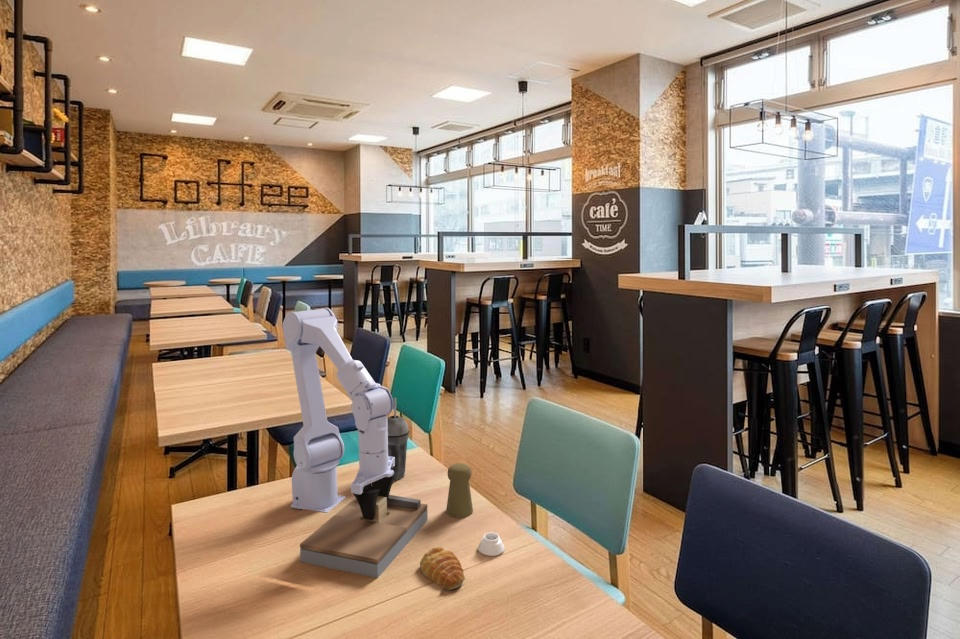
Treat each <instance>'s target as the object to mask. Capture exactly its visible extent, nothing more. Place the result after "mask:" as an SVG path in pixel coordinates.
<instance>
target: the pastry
mask: <svg viewBox="0 0 960 639" xmlns="http://www.w3.org/2000/svg"><path fill="white" fill-rule="evenodd" d="M419 566H420V570H421V573H422V575H423V576H424V577H426V578H427V579H428V580H430V581H431V582H433V583H434V584H437V585H438V586H440V587H442V589H444V590H447V591H451V590H453V589H456V588H459V587H461V586H462V585H463V583H464V581H465V578H466V577H465V575H464V574H465V573H464V569H463V566H462V563H461V562H460V560H459V559H458V557H457V555H455V553H454V552H452V551H451V550H446V549H445V548H444V547H442V546H441V547H440V546H437V547H433V548H431V549H429V551H427V552H425V553H424V555H423V556H422V558H421V560H420V562H419Z"/></svg>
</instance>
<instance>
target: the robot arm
mask: <svg viewBox="0 0 960 639" xmlns="http://www.w3.org/2000/svg"><path fill="white" fill-rule="evenodd" d="M281 327H282V332H283V338H284V343H285V348H286V350H287V351H289V352H290V354H291V360H292V367H293V372H294V377H295V383H296V389H297V395H298V402H299V406H300V412H301V413H300V414H301V418H302V424H303V426H302V427H301V428H300V429H299V430H298V432H297V433H296V434H295V435H294V436H293V459H294V462H295V465H296V467H295V468H294V470H293V472H292V475H291V491H292V492H291V494H292V498H291V499H292V504H290V508H292V509H297V510H298V509H299V510H308V511H313V512H320V513H324V514H325V513H328V512H330V511H331V510H332V509H334V508H335V507H336V506H337V505H339V504H340V503H341V502H342V501H343V500H344V499H345V500H346V496H345V495H340V494H339V495H338V474H337V473H338V472H337V468H338V465H340V460H341V459H342V458H343V457H344V453H345V444H344V441H343V439H342V437H341V434H340V430H339V427H338V426H337V425H334V424H332V423H330V421H328V417H327V412H326V405H325V400H324V394H323V387H322V383H321V376H320V370H319V365H318V358H317V351H318V349H319V348H321V350H322V351H323V352H324V353H325V354H326V356H327V357H328V358H329V359H330V361H331V362H332V363H333V365H334V366H335V367H336V368H337V372H336V378H337V380H338V381H339V383H340V385H341V386H342V387H343V389H344V391H345V393H346V394H347V395H348V397H349V399H350V400H351V401H352V402H351V404H350V409H351V412H352V415H353V417H354V422H355V427H356V429H357V430H358V435H357V436H358V460H359V461H358V463H359V466H358V467H359V469H358V471H357V473H356V476H355V478H354V480H353V481H352V482H351V484H350V493H351V494H352V495H353V496H354V498H356V499H357V501H358V503H359V506H360V509H361V512H362V515H363V518H364V519H367V520H373V519H374V517H375V510H376V501H377V497H378V496H381V497H387V503H388V498H389V495H390V493H391V489H392V486H393V484H394V481H395V480H394V479H395V478H396V472H395V471H393V470H390V469H391V467H394V466H395V457H390V456H388V423H387V418H388V415H389V416H390V415H391V413H392V411H394V398H393V395H392V393H391V392H390V390H389V388H387V387H386V386H383V385H381V384H380V383H378V382H375V380H374V379H373V377H372V376H371V374H370V373H369V372H368V370H367V368H366V367H365V366H364V364H363V363H362V361H360V360H356V359H353V358H352V356H351V354H350V352H349V350H348V349H347V346H346V344H345V343H344V341H343V340H342V338H341V336H340V334H339V332H338V319H337V318H336V315H335V313H334V312H333V311H332V309H330V307H322V308H319V309H318V308H317V309H309V310H300V311H288V312H287V314H285V317H284V319H283V322H282V326H281Z"/></svg>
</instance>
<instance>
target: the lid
mask: <svg viewBox="0 0 960 639" xmlns="http://www.w3.org/2000/svg"><path fill="white" fill-rule="evenodd" d="M421 501H422V500H421V499H419V498H418V499H417V498H412V497H405V496H400V495H393V494H389V498H388V503H387V517H386V518H385V519H384V520H382V521H381V522H380V523H377V522H371V521H366V520H363V515H362V512H361V509H360V506H359V503H358V501H357V499H356V497H354V498H353V499H352V500H351V501H350V502H348V503H347V504H346V505H345V506H344V507H342V508H341V509H340V510H339V511H338V512H336V513H335V514H334V515H332V517H331V518H329V519H328V520H327V521H326V522H325V523H323V524H322V525H321V526H320V527H319V528H317V529H316V530H315V531H314V532H312V533H311V534H310V535H309V536H307V538H305V539H304V540H303V541H302V542H300V543H299V549H301V548H302V549H307V550H312V551H317V552H322V553H327V554H332V555H337V556H342V557H347V558H352V559H357V560H362V561H367V562H372V563H376V564H378V563H379V562H380V560H381V559H382V558H383V557H384V556H385V555H386V554H387V553H388V552H389V550H390V549H391V548H392V547H393V546H394V545H395V544H396V543H397V542H398V540H399V539H400V538H401V537H402V536H403V535H404V534H405V533H406V532H407V530H408V529H409V528H410V527H411V526H412V525H413V524H414V523H415V522H416V520H417V519H418V518H419V517H420V516H421V515H422V514H423V513H424V511H425V510H426V509H427V510H428V504H427V503H426V504H425V503H422V502H421Z"/></svg>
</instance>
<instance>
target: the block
mask: <svg viewBox="0 0 960 639" xmlns="http://www.w3.org/2000/svg"><path fill="white" fill-rule="evenodd" d="M386 517H387V497H381V496H378V497H377V501H376V510H375V517H374V519H373V520H367V519H364V518H363V520H366V521H371V522H377V523H380V522H381V521H382V520H384V519H385V518H386Z"/></svg>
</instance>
